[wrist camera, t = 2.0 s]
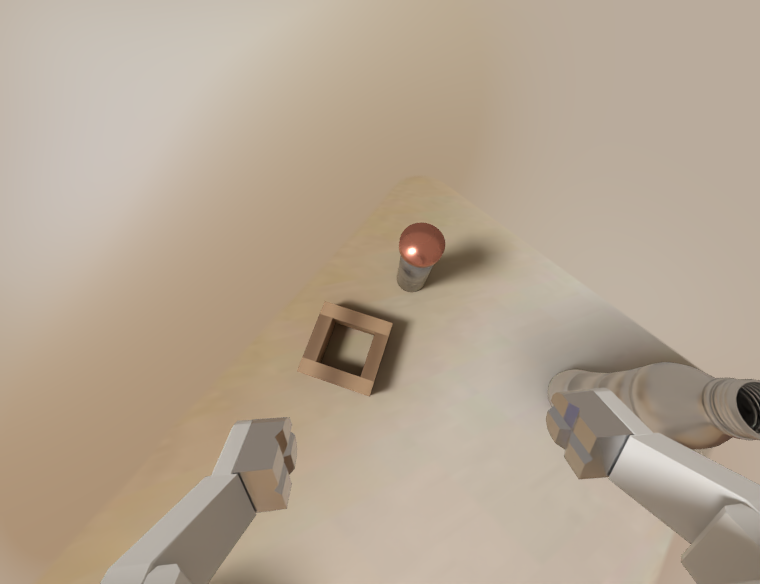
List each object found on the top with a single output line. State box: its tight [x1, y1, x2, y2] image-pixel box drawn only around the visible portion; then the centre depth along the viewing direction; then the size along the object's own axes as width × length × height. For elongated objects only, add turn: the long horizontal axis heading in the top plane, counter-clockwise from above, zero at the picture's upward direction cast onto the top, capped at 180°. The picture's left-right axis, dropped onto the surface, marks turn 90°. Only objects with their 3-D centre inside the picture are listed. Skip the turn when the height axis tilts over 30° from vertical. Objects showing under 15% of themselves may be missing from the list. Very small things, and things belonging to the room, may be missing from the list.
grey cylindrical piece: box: [397, 223, 445, 292], centre depth 37 cm, size 5×5×11 cm
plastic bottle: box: [548, 362, 760, 449], centre depth 28 cm, size 6×7×20 cm
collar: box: [297, 301, 393, 396], centre depth 37 cm, size 9×9×3 cm
